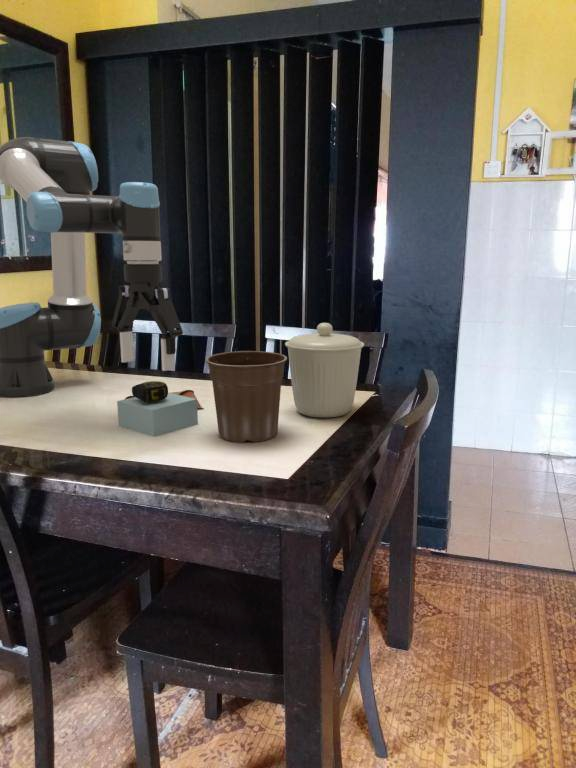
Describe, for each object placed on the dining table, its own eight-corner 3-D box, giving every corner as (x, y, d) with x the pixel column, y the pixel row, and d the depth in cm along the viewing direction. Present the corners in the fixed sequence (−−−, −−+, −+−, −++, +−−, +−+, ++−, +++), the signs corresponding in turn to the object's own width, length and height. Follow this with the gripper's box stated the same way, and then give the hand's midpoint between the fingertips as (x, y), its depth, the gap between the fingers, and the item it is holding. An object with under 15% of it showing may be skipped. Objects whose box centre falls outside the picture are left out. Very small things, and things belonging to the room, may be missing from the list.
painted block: (118, 427, 129) (117, 401, 127) (162, 416, 138) (161, 391, 137) (154, 438, 121) (152, 410, 120) (197, 425, 130) (197, 399, 129)
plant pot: (257, 452, 112) (256, 367, 108) (191, 438, 120) (188, 359, 117) (301, 430, 125) (301, 355, 122) (239, 419, 134) (238, 348, 130)
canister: (335, 427, 127) (336, 329, 123) (269, 414, 138) (268, 323, 133) (376, 410, 141) (379, 322, 137) (313, 399, 152) (314, 317, 147)
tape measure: (131, 399, 128) (130, 383, 128) (161, 395, 132) (160, 379, 131) (142, 406, 123) (141, 389, 122) (173, 401, 127) (172, 384, 126)
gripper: (91, 261, 125) (97, 360, 130) (168, 264, 110) (172, 376, 115) (121, 261, 131) (126, 356, 136) (198, 263, 116) (201, 370, 121)
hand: (147, 365), depth 125 cm, fingers open, 13 cm apart
